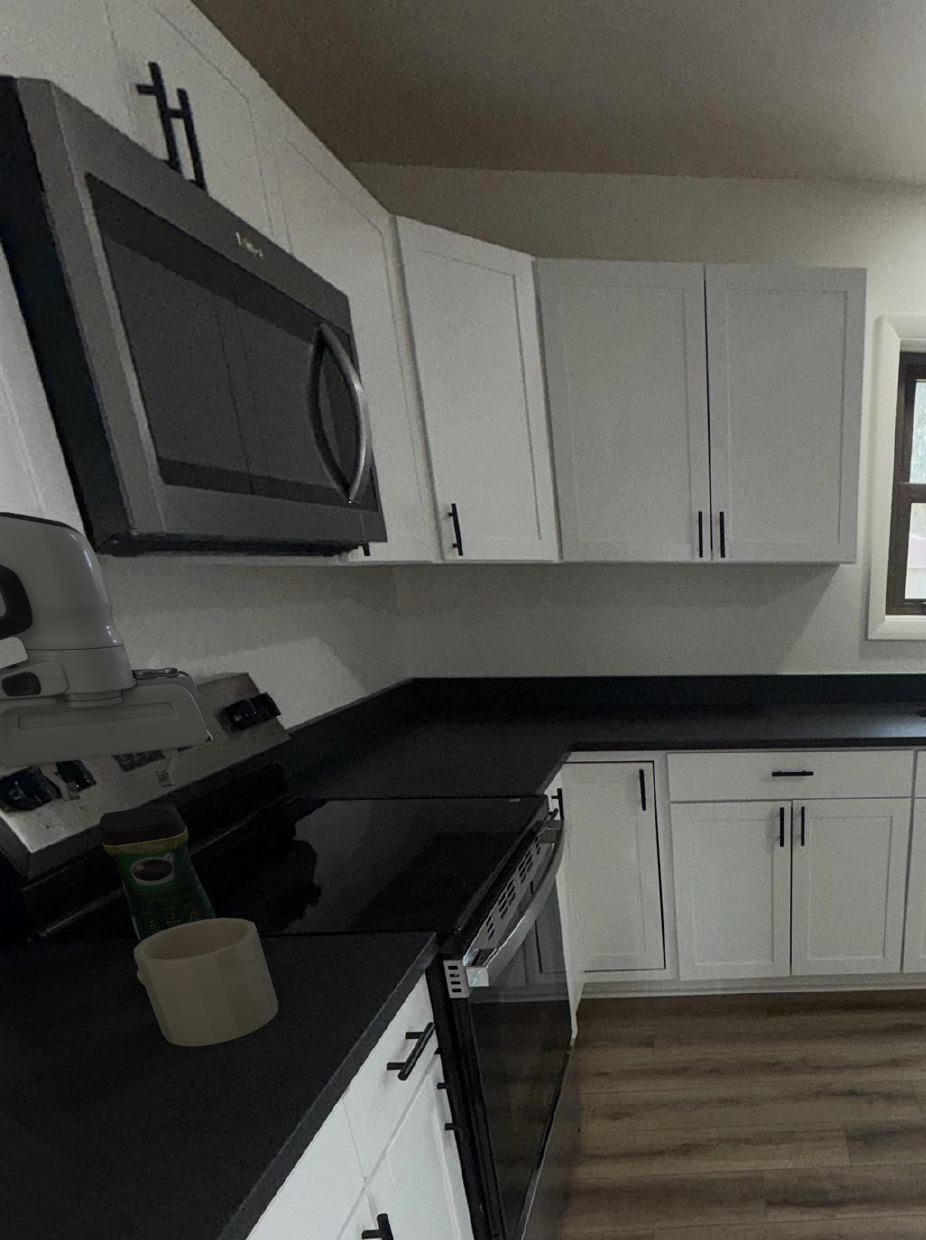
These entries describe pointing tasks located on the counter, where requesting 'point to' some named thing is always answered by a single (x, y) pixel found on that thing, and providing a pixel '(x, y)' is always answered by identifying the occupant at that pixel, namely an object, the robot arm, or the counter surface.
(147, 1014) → the counter surface
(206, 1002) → the cup
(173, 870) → the coffee jar
